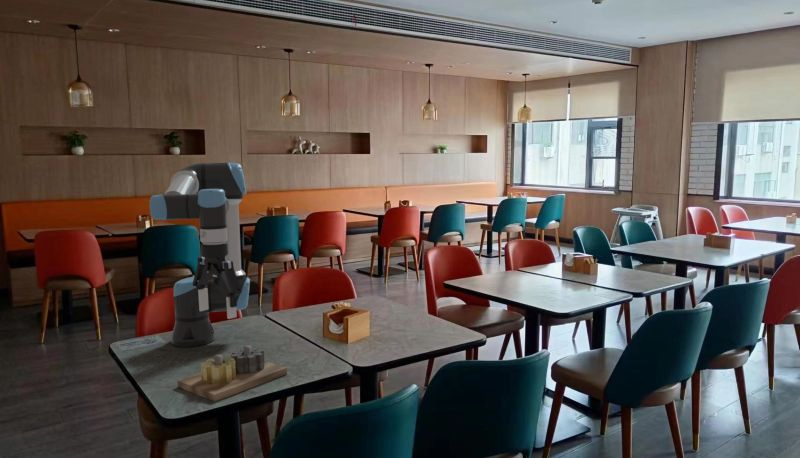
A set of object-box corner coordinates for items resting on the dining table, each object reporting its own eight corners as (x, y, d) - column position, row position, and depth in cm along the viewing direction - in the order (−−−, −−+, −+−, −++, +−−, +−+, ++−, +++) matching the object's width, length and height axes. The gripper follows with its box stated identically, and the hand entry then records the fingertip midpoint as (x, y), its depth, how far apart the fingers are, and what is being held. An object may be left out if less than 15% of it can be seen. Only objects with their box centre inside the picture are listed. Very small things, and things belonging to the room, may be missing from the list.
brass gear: (223, 370, 183) (222, 354, 183) (243, 377, 177) (242, 361, 177) (195, 380, 176) (194, 363, 175) (215, 387, 170) (214, 370, 169)
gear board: (177, 386, 176) (176, 357, 175) (249, 362, 196) (248, 335, 195) (215, 401, 165) (213, 370, 164) (286, 373, 186) (285, 345, 184)
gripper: (177, 240, 179) (182, 309, 181) (229, 248, 163) (233, 324, 166) (200, 237, 184) (203, 304, 187) (252, 244, 169) (255, 318, 172)
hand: (217, 314), depth 177 cm, fingers open, 13 cm apart
